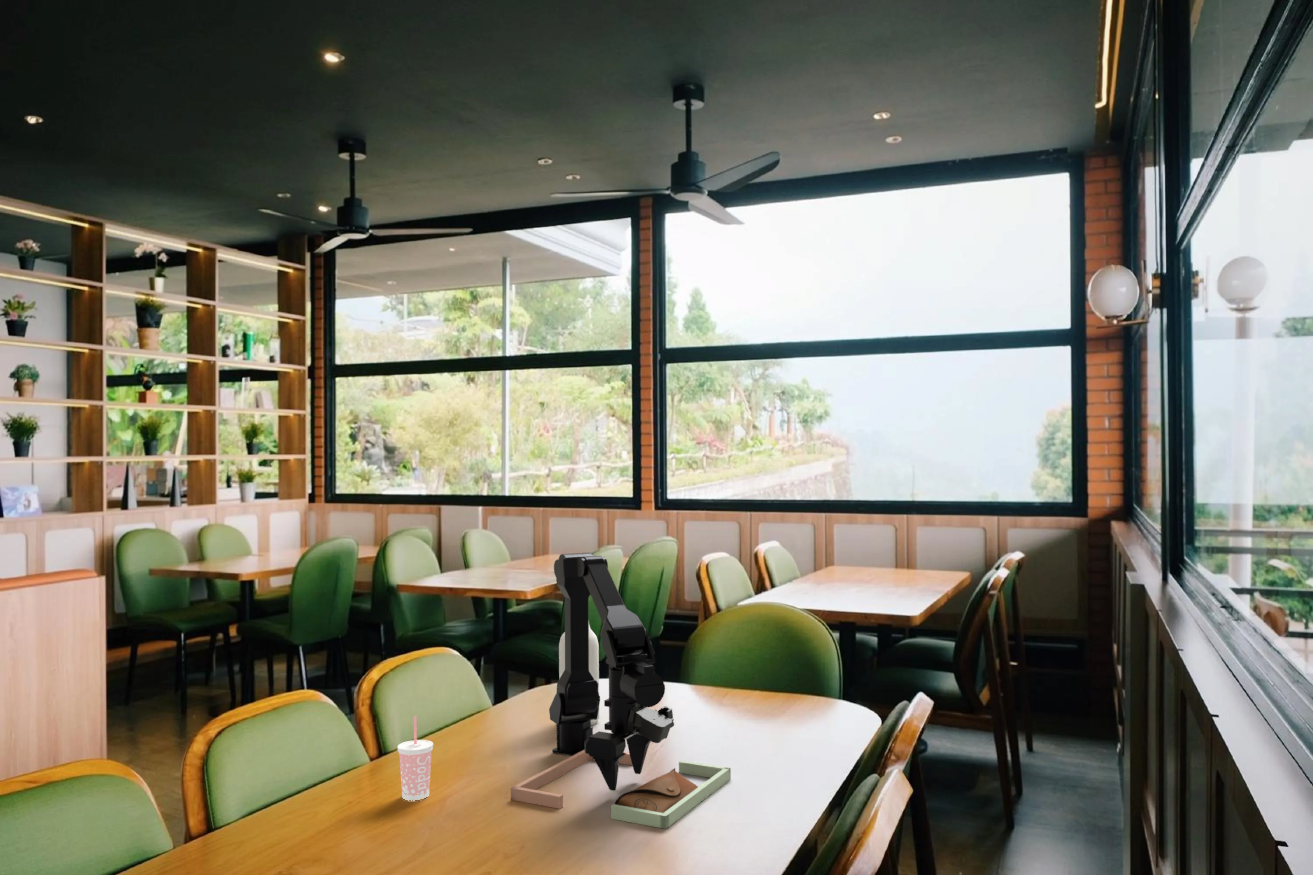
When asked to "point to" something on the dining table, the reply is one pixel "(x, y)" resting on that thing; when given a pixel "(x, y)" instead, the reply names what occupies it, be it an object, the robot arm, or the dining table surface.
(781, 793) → the dining table surface
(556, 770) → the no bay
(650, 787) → the sunglasses case
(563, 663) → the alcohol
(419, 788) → the beverage cup
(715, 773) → the mint green arch
